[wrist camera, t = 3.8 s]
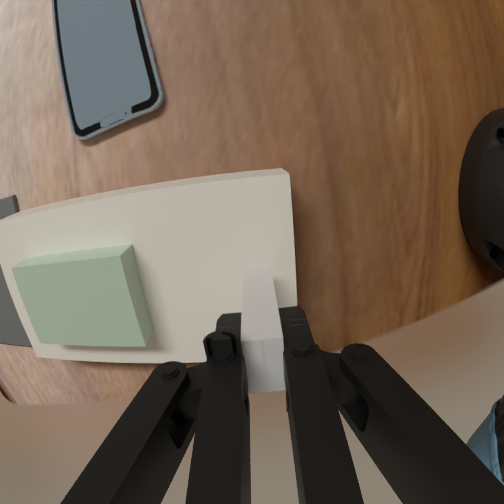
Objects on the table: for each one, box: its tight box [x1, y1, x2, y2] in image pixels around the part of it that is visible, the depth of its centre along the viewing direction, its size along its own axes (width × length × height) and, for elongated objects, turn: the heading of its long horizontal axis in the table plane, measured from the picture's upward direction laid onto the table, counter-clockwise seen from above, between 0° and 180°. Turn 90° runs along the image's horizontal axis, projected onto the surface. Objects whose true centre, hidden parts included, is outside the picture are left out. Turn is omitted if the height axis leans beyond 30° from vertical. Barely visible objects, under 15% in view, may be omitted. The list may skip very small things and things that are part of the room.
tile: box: [11, 244, 154, 347], centre depth 18 cm, size 9×6×2 cm, turn 96°
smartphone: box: [52, 0, 164, 139], centre depth 16 cm, size 7×1×15 cm
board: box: [0, 168, 297, 363], centre depth 21 cm, size 22×12×4 cm, turn 96°
